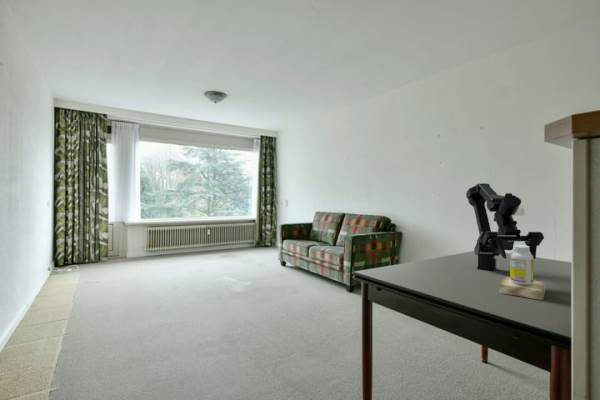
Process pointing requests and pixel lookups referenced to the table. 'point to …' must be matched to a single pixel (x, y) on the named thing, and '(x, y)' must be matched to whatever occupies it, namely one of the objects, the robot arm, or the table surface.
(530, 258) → the supplement bottle
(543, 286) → the oak board
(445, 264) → the table surface
